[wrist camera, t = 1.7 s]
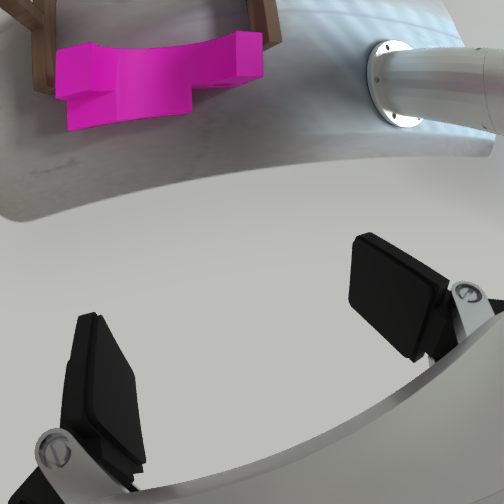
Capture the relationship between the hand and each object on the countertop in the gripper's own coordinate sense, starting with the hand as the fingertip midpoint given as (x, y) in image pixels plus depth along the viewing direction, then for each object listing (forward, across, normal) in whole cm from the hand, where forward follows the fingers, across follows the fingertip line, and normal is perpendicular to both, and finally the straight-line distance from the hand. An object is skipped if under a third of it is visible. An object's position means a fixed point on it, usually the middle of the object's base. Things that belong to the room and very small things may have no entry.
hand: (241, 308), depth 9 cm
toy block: (+21, 0, -10) cm, 23 cm away
